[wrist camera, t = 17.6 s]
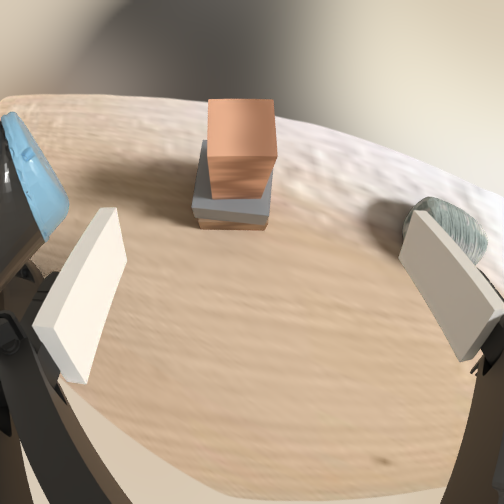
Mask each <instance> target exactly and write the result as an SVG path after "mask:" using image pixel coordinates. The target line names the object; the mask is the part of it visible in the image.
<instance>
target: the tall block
mask: <svg viewBox="0 0 504 504" xmlns="http://www.w3.org/2000/svg"><path fill="white" fill-rule="evenodd" d="M277 156H278V155H277V141H276V128H275V115H274V102H273V100H269V99H266V100H265V99H209V100H208V136H207V159H208V168H209V176H210V184H211V192H212V199H213V200H218V199H261V197H262V195H263V192H264V190H265V187H266V185H267V182H268V179H269V177H270V174H271V172H272V169H273V167H274V164H275V162H276V159H277Z"/></svg>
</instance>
